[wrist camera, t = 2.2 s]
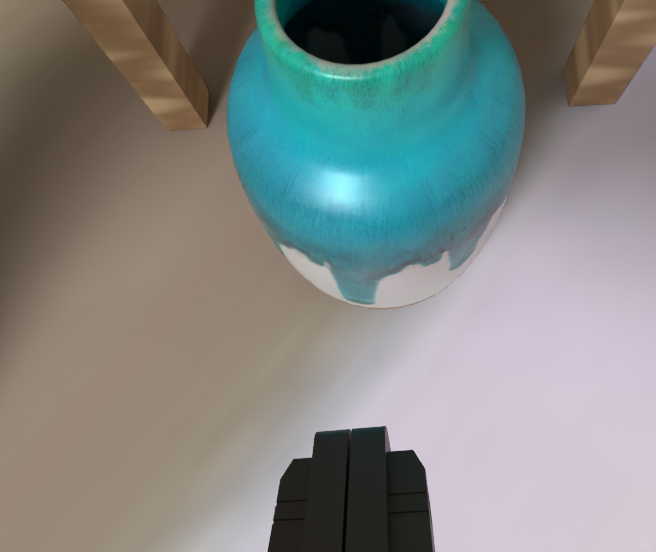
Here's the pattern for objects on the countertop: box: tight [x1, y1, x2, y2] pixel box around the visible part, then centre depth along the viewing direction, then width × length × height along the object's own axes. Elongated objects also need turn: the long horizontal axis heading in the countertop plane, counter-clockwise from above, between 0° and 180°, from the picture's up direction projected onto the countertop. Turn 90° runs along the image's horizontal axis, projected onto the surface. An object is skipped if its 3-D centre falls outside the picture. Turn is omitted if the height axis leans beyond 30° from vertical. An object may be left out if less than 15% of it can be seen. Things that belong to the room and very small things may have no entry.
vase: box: [227, 0, 525, 309], centre depth 23 cm, size 11×11×19 cm
